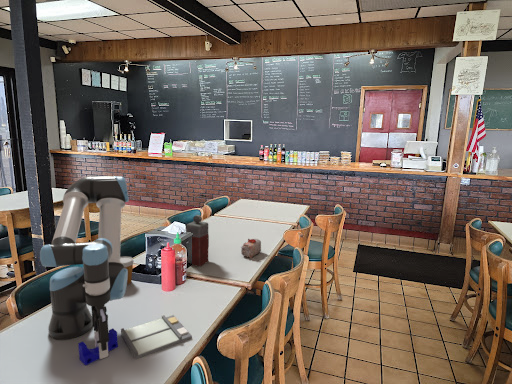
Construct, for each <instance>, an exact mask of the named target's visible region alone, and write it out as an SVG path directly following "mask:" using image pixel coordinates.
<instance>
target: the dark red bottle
mask: <svg viewBox="0 0 512 384" xmlns="http://www.w3.org/2000/svg"><path fill="white" fill-rule="evenodd" d="M192 219H193V221H191V222H189V223H187V224H186V228H185V229H186V233H187V232H191V233H193V237H192V264H193V265H192V266H196V267H201V266H203V265H205V264H206V263H208V262H209V246H210V243H209V242H210V239H209V238H210V236H209V222H207V221H202V216H201V215H200V214H196V215H194V216H193V218H192Z"/></svg>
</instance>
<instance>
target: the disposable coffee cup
mask: <svg viewBox="0 0 512 384" xmlns="http://www.w3.org/2000/svg"><path fill="white" fill-rule="evenodd" d="M120 262H122V263H123V264H124V268H126V269H127V270H128V277H127V285H130V284H131V283H132V277H133V267H134V266H133V265H134V263H135V262H134V259H133V257H132V256H120Z"/></svg>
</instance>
